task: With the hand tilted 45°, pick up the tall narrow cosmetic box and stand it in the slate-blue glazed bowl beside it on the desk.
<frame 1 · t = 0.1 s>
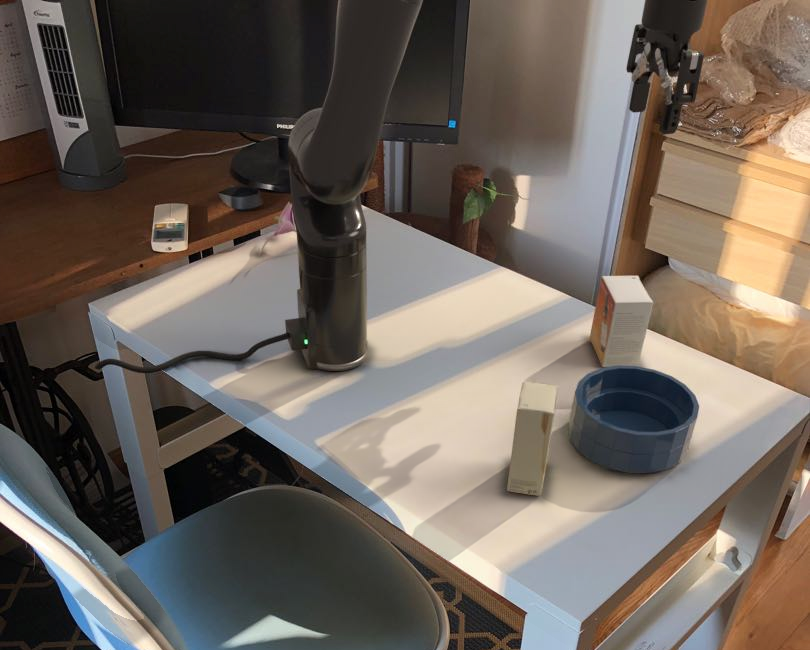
hand: (651, 122, 124), 29 cm above the table, tool pointing down, fingers open, 8 cm apart
lily: (285, 248, 158), on the table
cosmetic box: (525, 480, 114), on the table
small box: (613, 354, 136), on the table
bowl: (626, 439, 120), on the table
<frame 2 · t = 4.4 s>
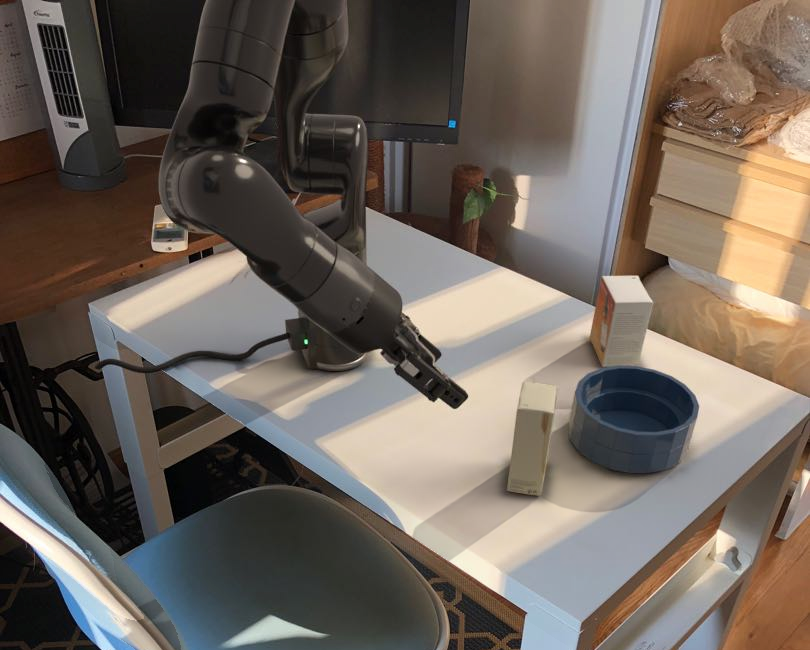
hand: (448, 380, 100), 16 cm above the table, tool tilted 45°, fingers open, 8 cm apart
nothing on the table moved.
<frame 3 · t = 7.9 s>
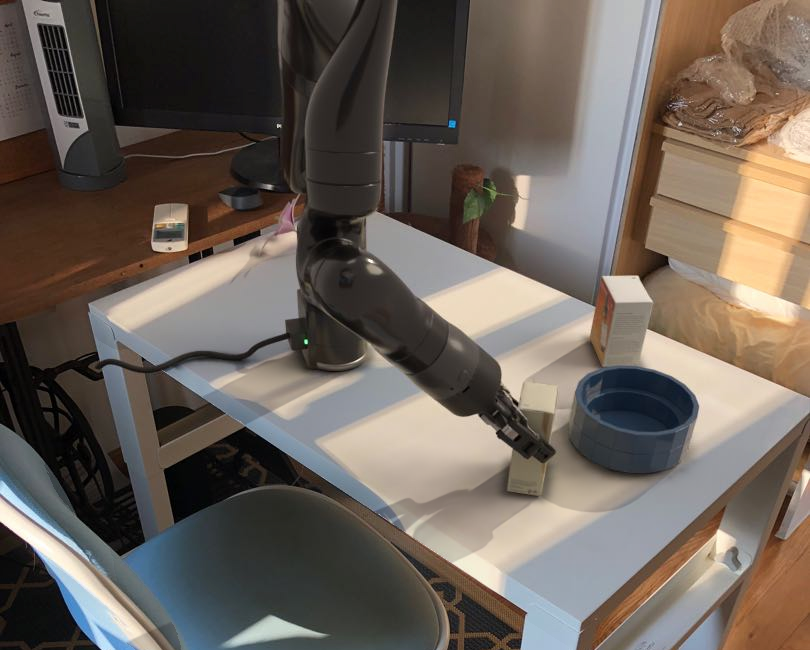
hand: (535, 437, 109), 6 cm above the table, tool tilted 45°, fingers closed on cosmetic box, 7 cm apart
cosmetic box: (525, 480, 114), on the table, touching gripper
everything else where it was.
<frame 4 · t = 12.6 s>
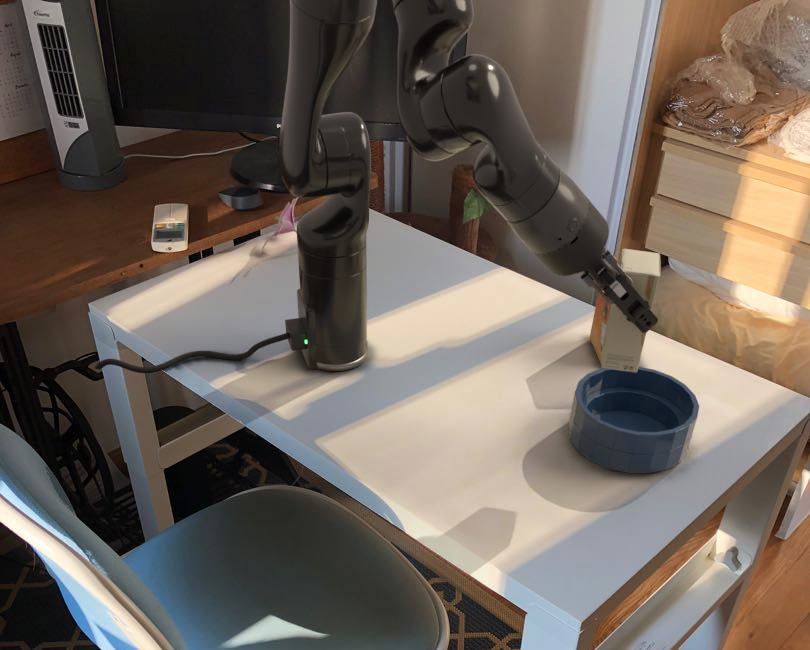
hand: (634, 309, 104), 20 cm above the table, tool tilted 45°, fingers closed on cosmetic box, 7 cm apart
cosmetic box: (619, 359, 109), point 14 cm above the table, touching gripper
everything else where it was.
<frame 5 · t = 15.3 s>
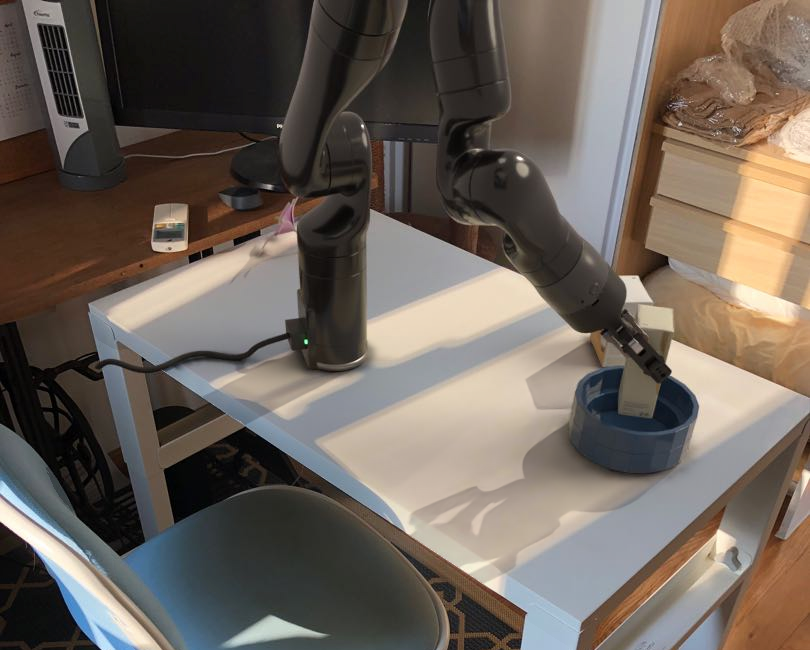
hand: (648, 360, 112), 12 cm above the table, tool tilted 45°, fingers closed on cosmetic box, 7 cm apart
cosmetic box: (634, 405, 116), point 6 cm above the table, touching gripper
everything else where it was.
when the fingers open (7 cm above the table, at t = 17.4 s): cosmetic box stays where it is, resting on bowl.
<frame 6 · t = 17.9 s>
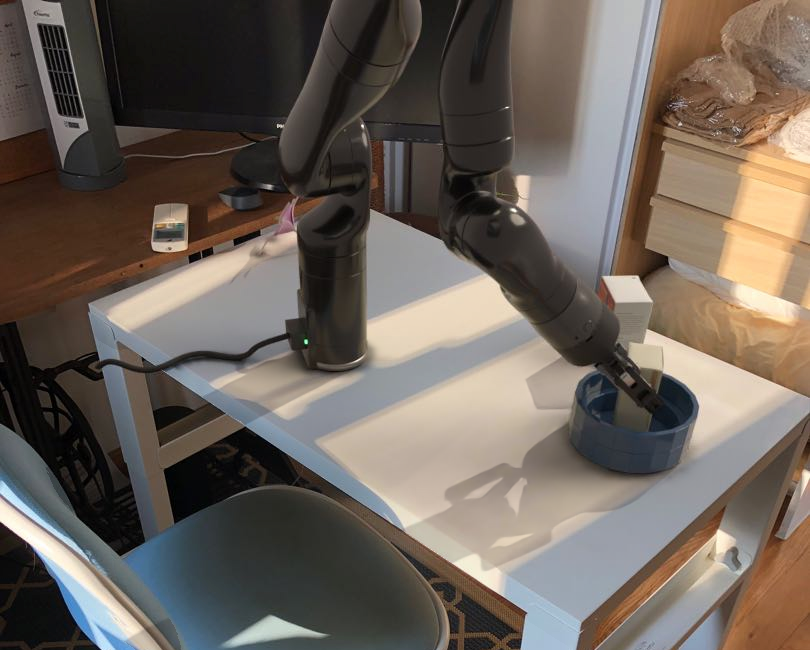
hand: (641, 388, 115), 8 cm above the table, tool tilted 45°, fingers open, 8 cm apart
cosmetic box: (626, 438, 119), resting on bowl
everything else where it was.
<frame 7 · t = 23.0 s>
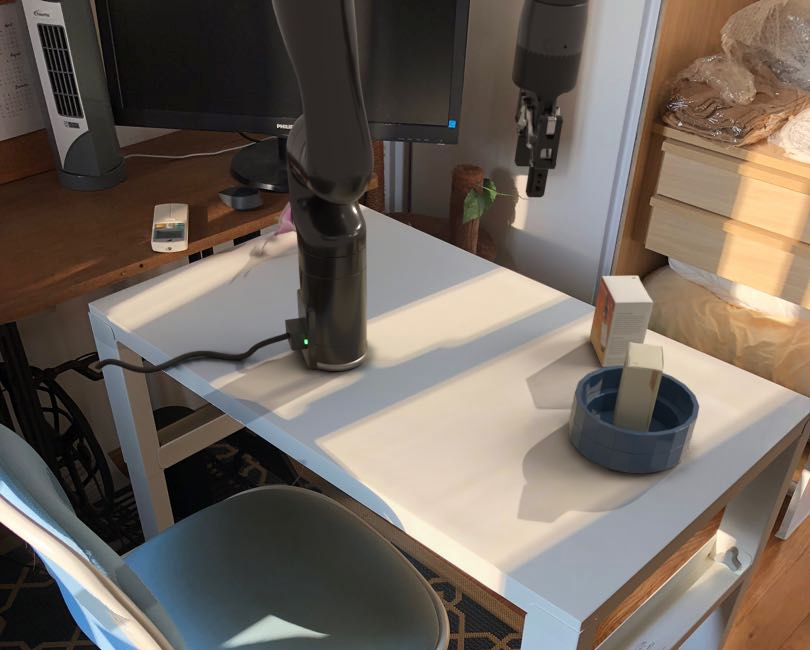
hand: (528, 180, 115), 27 cm above the table, tool pointing down, fingers open, 8 cm apart
nothing on the table moved.
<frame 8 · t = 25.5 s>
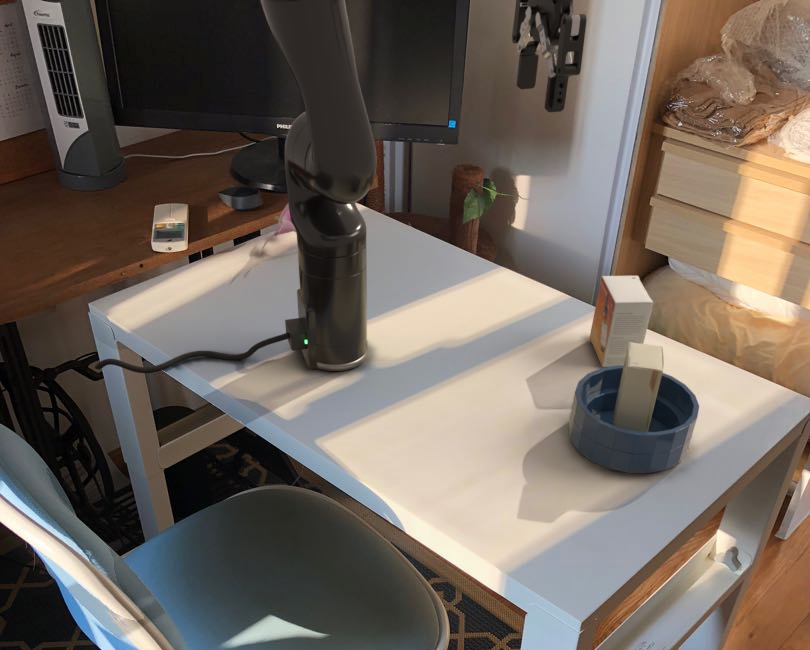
hand: (539, 99, 109), 36 cm above the table, tool pointing down, fingers open, 8 cm apart
nothing on the table moved.
at the end: cosmetic box inside the target area in the bowl (0.2 cm from its centre), point 0.4 cm above the bowl's base; the gripper is holding nothing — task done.
